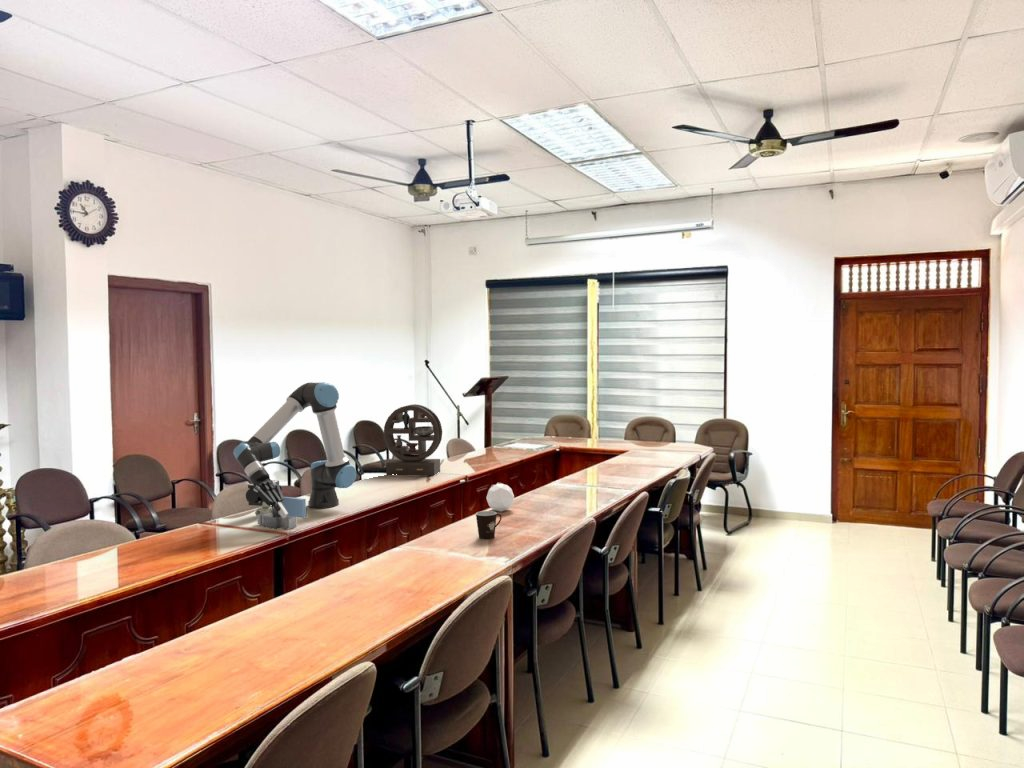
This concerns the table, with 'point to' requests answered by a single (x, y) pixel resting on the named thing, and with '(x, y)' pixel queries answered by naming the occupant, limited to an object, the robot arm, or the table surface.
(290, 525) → the valve body
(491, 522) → the coffee mug
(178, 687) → the table surface
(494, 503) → the geodesic sphere
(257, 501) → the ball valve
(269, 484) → the robot arm
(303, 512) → the lever
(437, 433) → the round curio shelf
